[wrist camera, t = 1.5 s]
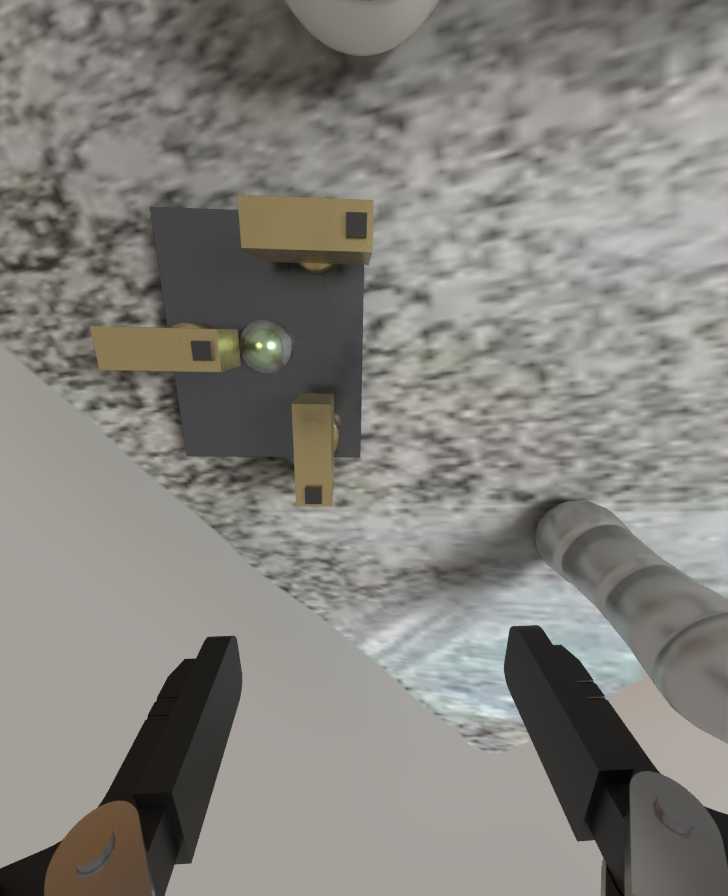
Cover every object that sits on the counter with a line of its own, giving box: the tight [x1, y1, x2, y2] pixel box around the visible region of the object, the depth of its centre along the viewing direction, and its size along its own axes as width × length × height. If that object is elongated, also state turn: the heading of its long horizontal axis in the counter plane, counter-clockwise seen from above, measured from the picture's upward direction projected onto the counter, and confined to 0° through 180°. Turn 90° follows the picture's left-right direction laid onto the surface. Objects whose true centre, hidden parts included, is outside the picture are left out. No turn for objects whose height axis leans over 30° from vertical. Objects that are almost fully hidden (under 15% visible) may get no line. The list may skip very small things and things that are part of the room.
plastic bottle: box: [535, 500, 728, 743], centre depth 22 cm, size 6×7×20 cm
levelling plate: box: [150, 207, 364, 457], centre depth 24 cm, size 16×13×3 cm
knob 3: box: [292, 393, 339, 506], centre depth 23 cm, size 6×3×6 cm, turn 179°
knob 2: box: [237, 195, 373, 274], centre depth 19 cm, size 6×3×6 cm, turn 89°
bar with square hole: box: [90, 323, 241, 372], centre depth 21 cm, size 6×3×6 cm, turn 89°
